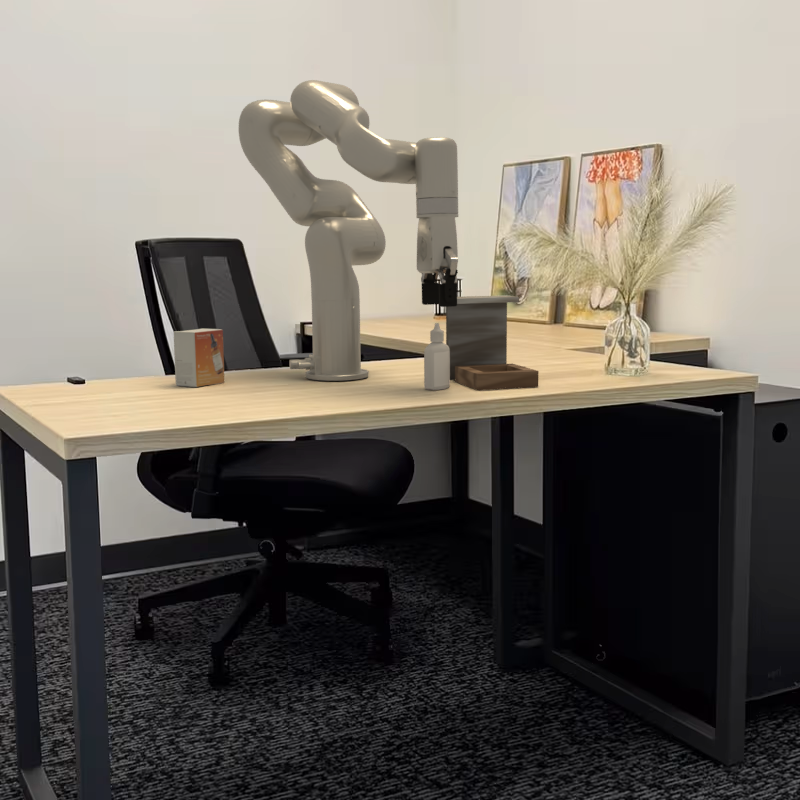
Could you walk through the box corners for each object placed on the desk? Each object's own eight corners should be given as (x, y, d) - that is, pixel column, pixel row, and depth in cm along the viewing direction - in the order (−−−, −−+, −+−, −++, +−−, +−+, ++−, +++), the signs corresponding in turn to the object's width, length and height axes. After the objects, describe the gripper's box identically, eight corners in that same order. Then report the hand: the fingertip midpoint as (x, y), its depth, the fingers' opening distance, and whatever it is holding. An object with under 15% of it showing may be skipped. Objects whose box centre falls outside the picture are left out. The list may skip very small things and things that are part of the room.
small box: (196, 388, 182) (193, 332, 180) (174, 386, 185) (172, 331, 183) (225, 382, 188) (223, 328, 187) (204, 380, 191) (202, 327, 190)
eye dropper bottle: (456, 388, 177) (456, 323, 175) (428, 391, 175) (428, 324, 173) (445, 385, 181) (445, 321, 179) (418, 387, 179) (418, 323, 177)
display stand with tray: (543, 386, 179) (544, 299, 176) (472, 390, 175) (472, 301, 172) (506, 375, 195) (506, 295, 193) (440, 378, 191) (440, 297, 189)
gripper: (403, 212, 180) (405, 304, 183) (432, 206, 164) (434, 308, 166) (441, 211, 182) (443, 302, 185) (474, 206, 166) (475, 306, 168)
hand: (439, 305), depth 175 cm, fingers open, 9 cm apart
